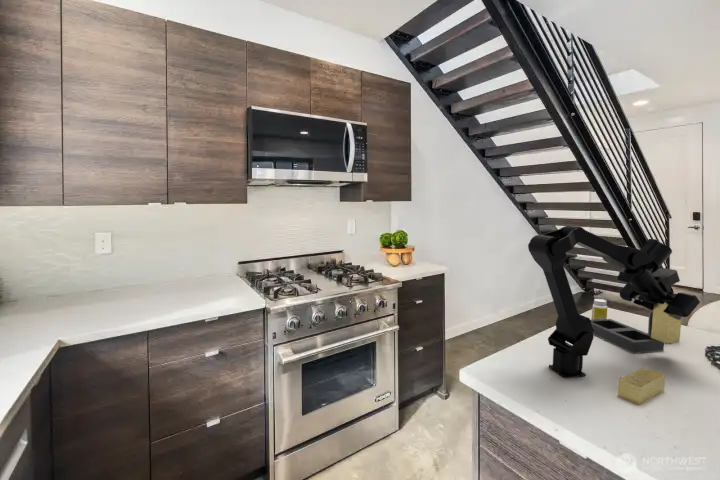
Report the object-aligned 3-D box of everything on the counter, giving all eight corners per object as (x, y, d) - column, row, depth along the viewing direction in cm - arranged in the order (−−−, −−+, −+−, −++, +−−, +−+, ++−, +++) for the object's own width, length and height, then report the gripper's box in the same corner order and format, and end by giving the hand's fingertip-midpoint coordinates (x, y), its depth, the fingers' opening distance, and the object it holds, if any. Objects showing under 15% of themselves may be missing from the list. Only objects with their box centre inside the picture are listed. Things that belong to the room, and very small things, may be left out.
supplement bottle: (609, 323, 135) (610, 302, 134) (596, 323, 135) (598, 302, 134) (601, 319, 140) (602, 298, 139) (588, 319, 140) (590, 298, 139)
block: (639, 405, 83) (640, 387, 82) (617, 396, 86) (618, 379, 86) (663, 391, 88) (665, 374, 88) (642, 383, 92) (643, 367, 92)
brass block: (666, 344, 102) (670, 301, 100) (647, 337, 107) (651, 296, 106) (682, 342, 103) (686, 300, 101) (663, 335, 108) (666, 295, 107)
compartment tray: (633, 353, 109) (634, 342, 109) (583, 330, 129) (584, 320, 129) (663, 351, 111) (664, 340, 110) (609, 328, 130) (610, 318, 130)
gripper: (698, 265, 92) (726, 304, 96) (629, 254, 110) (655, 288, 114) (670, 297, 92) (700, 335, 95) (606, 281, 110) (633, 313, 113)
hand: (670, 315), depth 104 cm, fingers closed on brass block, 5 cm apart
